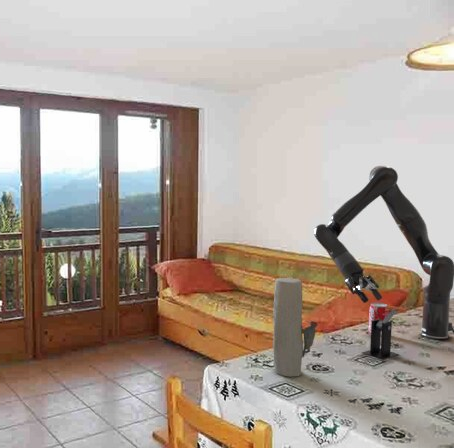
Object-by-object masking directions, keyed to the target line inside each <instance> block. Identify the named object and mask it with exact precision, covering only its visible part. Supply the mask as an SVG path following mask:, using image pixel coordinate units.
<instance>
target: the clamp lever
mask: <svg viewBox="0 0 454 448" xmlns="http://www.w3.org/2000/svg"><path fill="white" fill-rule="evenodd" d="M386 309H389V314H388V316H387V317H386V318H385V319H384V320H383V321H379V322H378V323H377V324H376V328H377V330H378V331H382V323H384V322H388V321H390V320H391V319H392V318H393V317H394V315H395V314H396V313H397V312H399V313H405V314H406V313H407V308H403V307H399V306H394V305H389V304H387V306H386ZM390 310H391V311H390Z"/></svg>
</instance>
